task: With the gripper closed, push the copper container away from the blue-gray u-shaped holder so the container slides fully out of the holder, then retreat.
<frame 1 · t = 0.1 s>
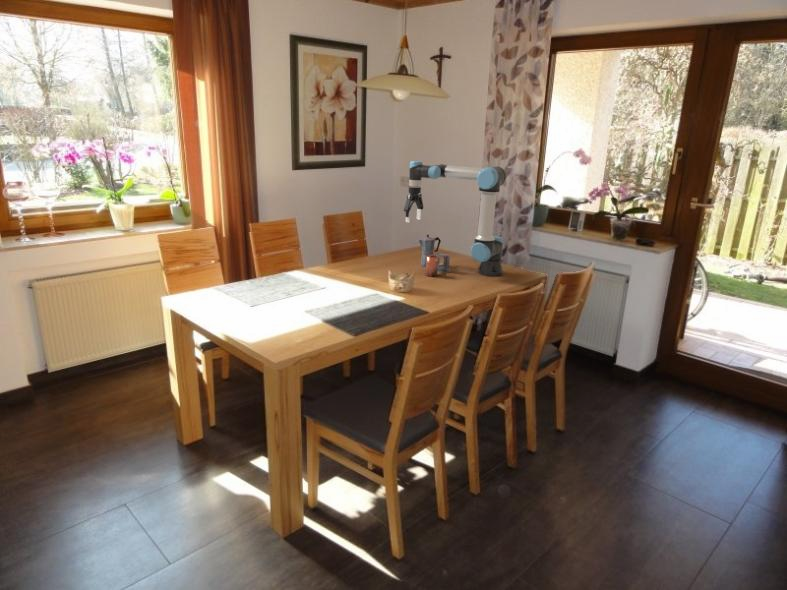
hand: (413, 220, 347), 28 cm above the table, fingers open, 13 cm apart
copper container: (434, 263, 332), point 6 cm above the table, slide at 0.0 cm
moka pot: (427, 265, 354), on the table
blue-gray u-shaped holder: (440, 271, 342), on the table
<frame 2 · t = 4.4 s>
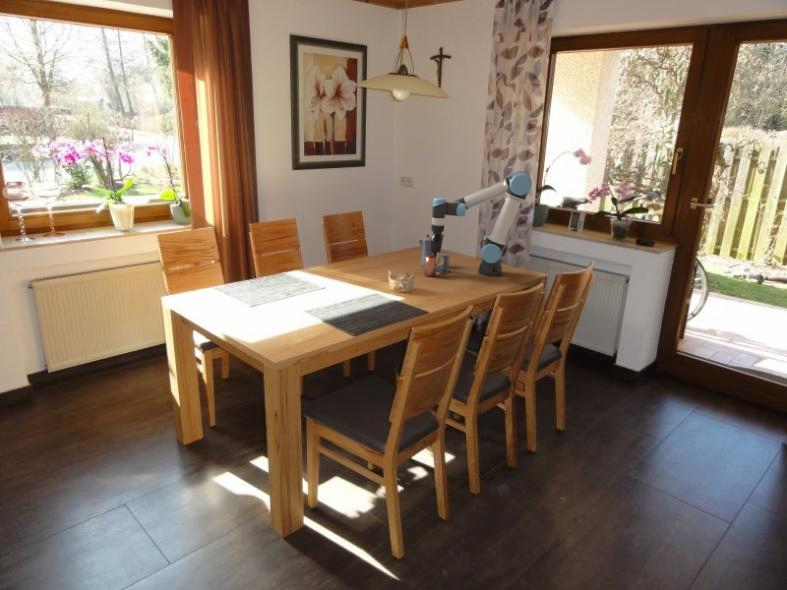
hand: (435, 263, 334), 7 cm above the table, fingers closed
copper container: (433, 264, 331), point 6 cm above the table, slide at 1.3 cm, touching gripper
everything else where it was.
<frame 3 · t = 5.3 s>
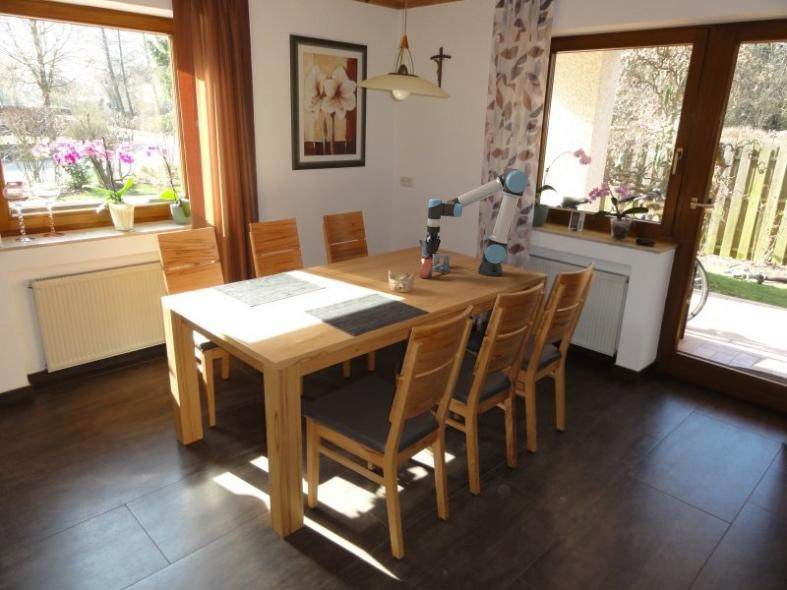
hand: (431, 264, 329), 7 cm above the table, fingers closed
copper container: (429, 265, 327), point 6 cm above the table, slide at 6.4 cm, touching gripper
everything else where it was.
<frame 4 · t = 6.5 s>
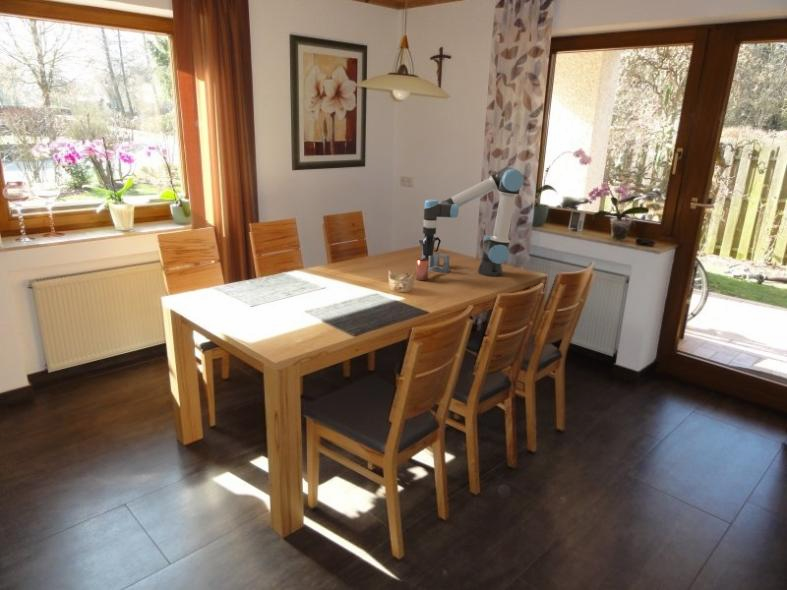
hand: (427, 266, 325), 7 cm above the table, fingers closed
copper container: (425, 267, 323), point 6 cm above the table, slide at 11.4 cm, touching gripper
everything else where it was.
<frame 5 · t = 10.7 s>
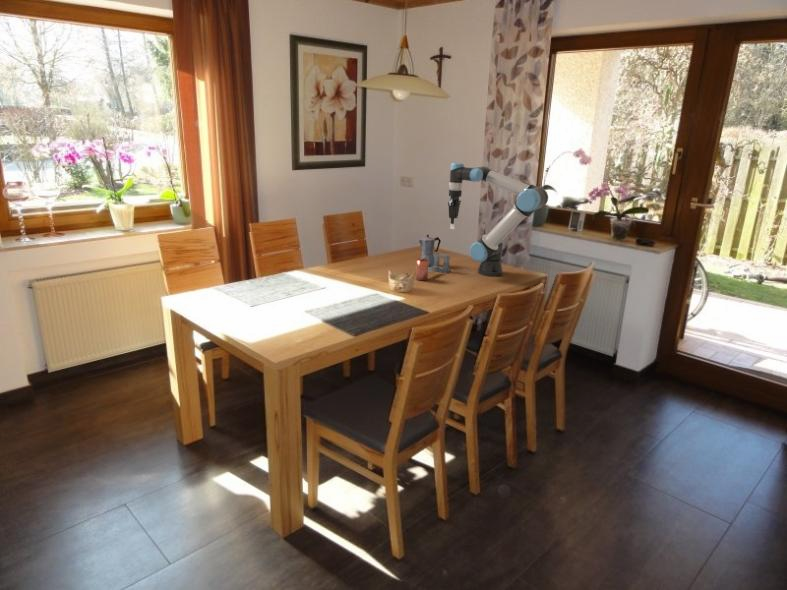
hand: (452, 228, 335), 26 cm above the table, fingers closed
copper container: (425, 267, 323), point 6 cm above the table, slide at 11.5 cm
everything else where it was.
at the end: copper container slide at 11.5 cm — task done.
